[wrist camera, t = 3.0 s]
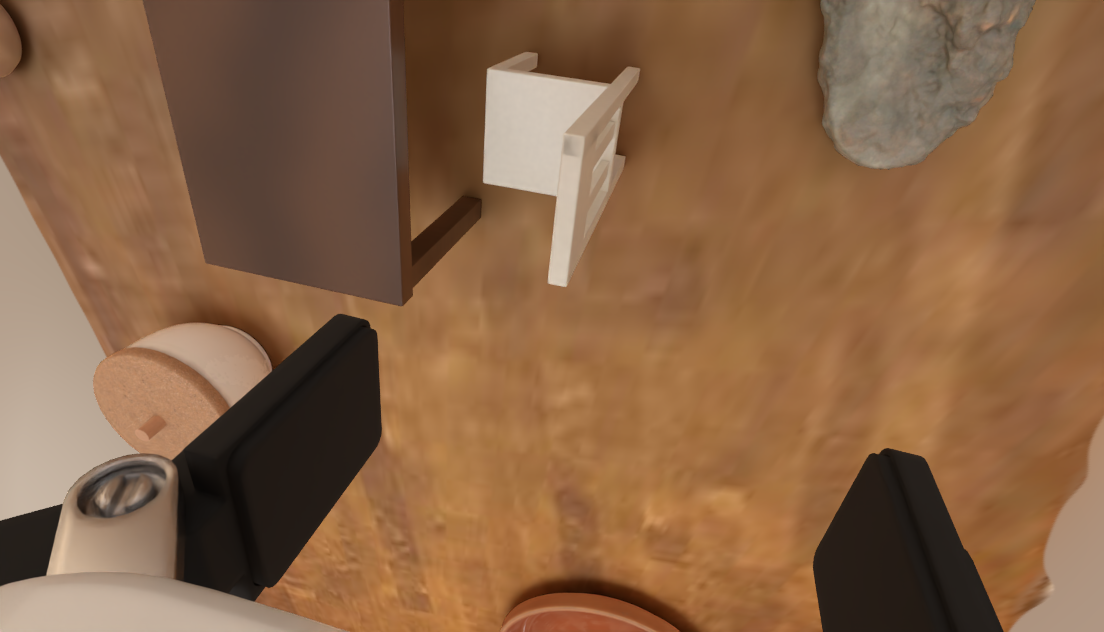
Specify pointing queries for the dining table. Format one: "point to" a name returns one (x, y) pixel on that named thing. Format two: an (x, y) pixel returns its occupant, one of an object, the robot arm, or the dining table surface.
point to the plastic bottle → (8, 44)
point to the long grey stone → (910, 72)
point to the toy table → (299, 141)
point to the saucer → (581, 615)
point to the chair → (556, 146)
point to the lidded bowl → (177, 383)
